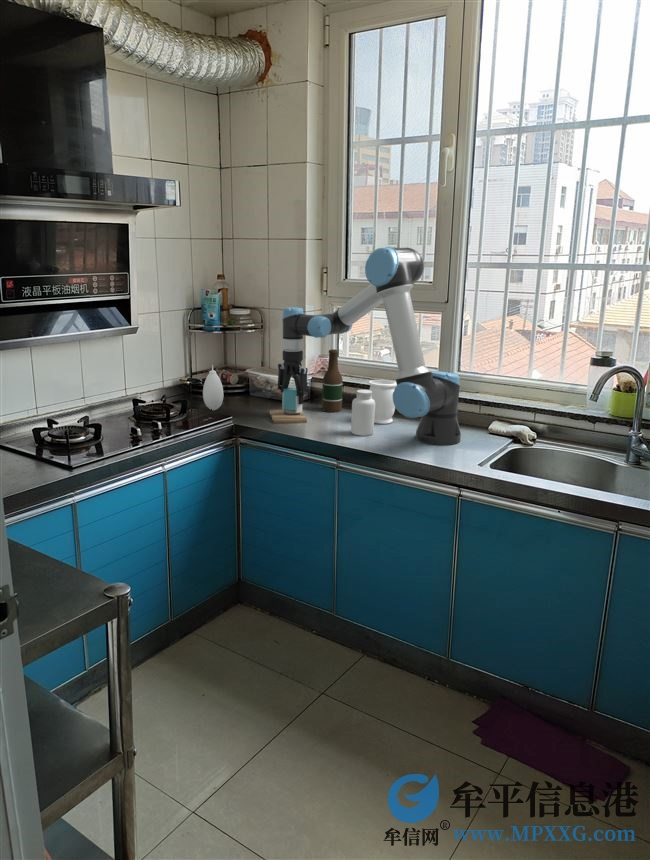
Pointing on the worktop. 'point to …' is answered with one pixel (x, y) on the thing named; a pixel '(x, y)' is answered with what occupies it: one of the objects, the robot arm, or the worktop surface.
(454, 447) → the worktop surface
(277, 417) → the stud block
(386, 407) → the jar
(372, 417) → the pill bottle
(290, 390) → the turquoise hexagonal prism
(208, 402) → the white air blower bulb
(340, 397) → the beer bottle
